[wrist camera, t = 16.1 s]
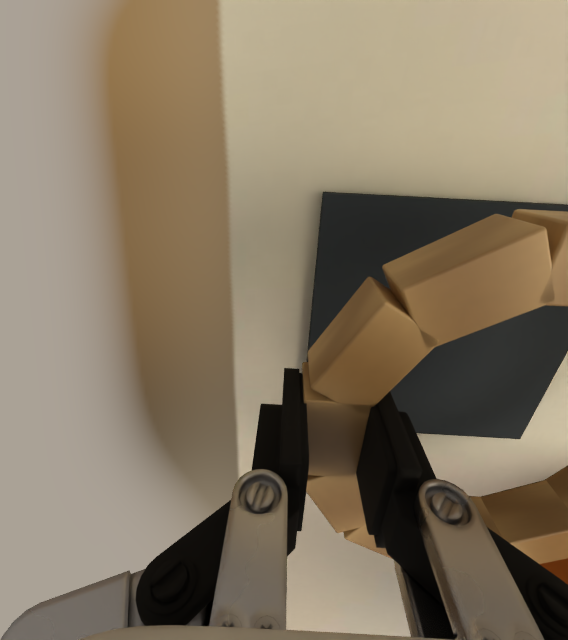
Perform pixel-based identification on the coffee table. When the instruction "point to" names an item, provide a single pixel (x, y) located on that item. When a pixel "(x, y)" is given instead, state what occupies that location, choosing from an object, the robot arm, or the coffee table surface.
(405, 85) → the coffee table surface
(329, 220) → the mat
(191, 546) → the robot arm
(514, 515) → the ring
